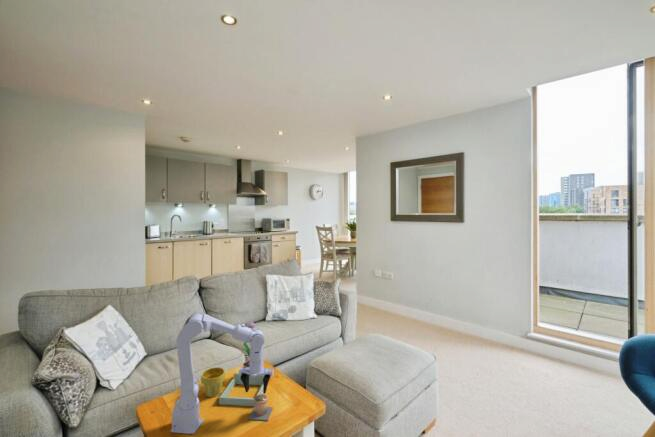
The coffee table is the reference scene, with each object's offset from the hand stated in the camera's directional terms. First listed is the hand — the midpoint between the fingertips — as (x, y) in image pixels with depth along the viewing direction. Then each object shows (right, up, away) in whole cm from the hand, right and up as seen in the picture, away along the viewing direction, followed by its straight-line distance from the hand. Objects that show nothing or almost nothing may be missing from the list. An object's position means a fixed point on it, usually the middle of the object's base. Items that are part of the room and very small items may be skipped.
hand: (256, 391), depth 126 cm
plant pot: (-24, -9, +14) cm, 29 cm away
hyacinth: (-9, -9, +29) cm, 32 cm away
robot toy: (-34, -10, +5) cm, 35 cm away
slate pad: (+2, -9, 0) cm, 10 cm away
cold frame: (-9, -9, +14) cm, 19 cm away
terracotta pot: (+2, -9, 0) cm, 9 cm away
